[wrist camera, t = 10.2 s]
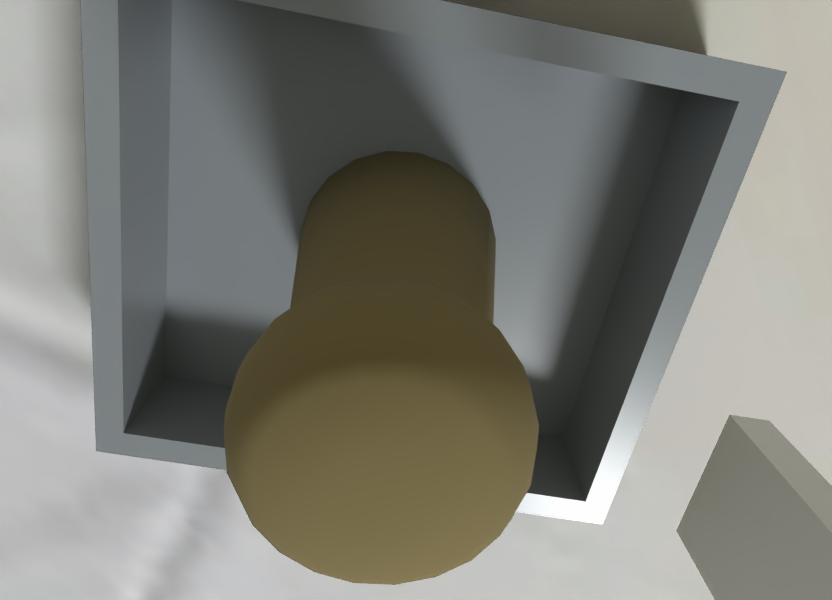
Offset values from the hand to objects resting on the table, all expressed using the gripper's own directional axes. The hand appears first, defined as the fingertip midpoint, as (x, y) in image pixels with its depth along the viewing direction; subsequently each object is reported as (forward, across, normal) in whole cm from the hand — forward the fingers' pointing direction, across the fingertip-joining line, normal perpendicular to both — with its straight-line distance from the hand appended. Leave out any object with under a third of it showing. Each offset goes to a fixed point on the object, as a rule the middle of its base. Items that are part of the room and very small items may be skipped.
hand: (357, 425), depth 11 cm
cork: (+9, +1, 0) cm, 9 cm away
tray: (+10, +1, 0) cm, 10 cm away
